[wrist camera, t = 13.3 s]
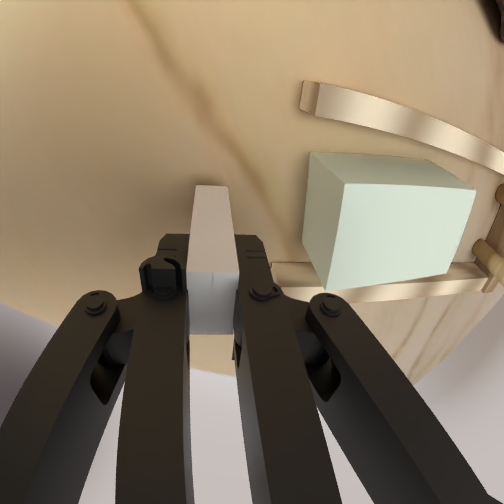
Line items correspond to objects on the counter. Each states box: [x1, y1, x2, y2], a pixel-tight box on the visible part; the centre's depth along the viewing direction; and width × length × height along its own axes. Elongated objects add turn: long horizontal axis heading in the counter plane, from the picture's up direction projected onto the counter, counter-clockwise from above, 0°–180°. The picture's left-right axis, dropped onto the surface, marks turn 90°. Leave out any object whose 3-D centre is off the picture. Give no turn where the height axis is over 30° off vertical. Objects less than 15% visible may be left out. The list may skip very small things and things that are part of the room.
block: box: [302, 152, 477, 292], centre depth 16 cm, size 9×6×5 cm, turn 90°
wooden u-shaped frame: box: [271, 81, 504, 303], centre depth 17 cm, size 24×13×5 cm, turn 83°
